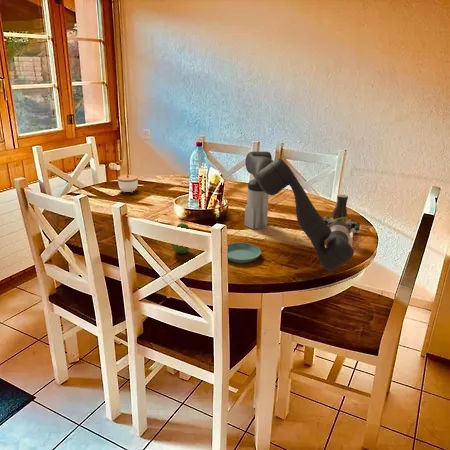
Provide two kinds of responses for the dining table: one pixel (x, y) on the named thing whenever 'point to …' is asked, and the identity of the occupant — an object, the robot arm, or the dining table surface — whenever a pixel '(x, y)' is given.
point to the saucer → (243, 252)
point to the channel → (350, 236)
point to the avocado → (180, 248)
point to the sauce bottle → (340, 209)
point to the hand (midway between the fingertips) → (339, 219)
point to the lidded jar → (128, 183)
